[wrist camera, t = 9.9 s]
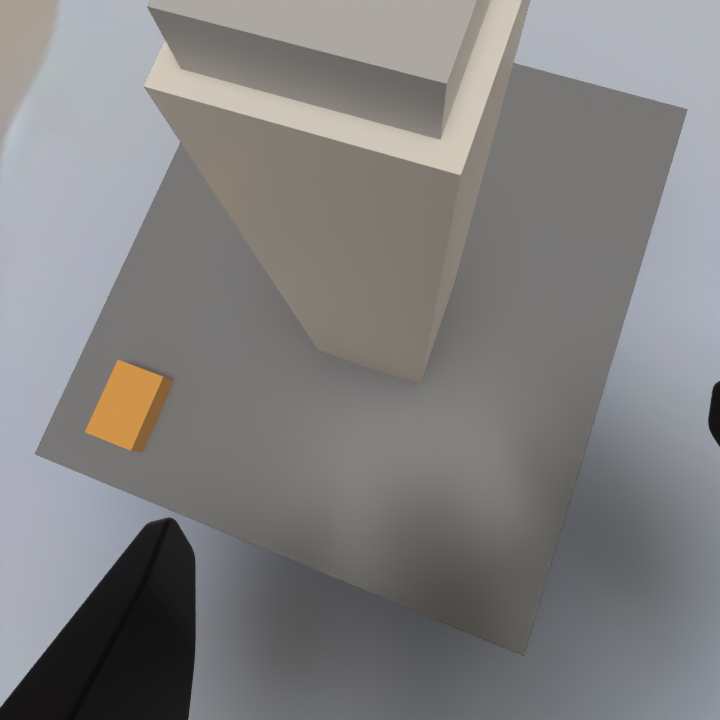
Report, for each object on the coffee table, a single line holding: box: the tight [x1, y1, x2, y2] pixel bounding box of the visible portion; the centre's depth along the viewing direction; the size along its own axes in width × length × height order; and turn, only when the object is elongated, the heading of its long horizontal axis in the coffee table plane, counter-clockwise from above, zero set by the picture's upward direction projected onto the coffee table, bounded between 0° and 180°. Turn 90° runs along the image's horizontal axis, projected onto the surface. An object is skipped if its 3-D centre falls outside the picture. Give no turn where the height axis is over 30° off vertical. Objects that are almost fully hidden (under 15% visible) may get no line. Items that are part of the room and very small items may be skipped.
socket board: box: [35, 63, 687, 656], centre depth 20 cm, size 18×16×4 cm
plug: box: [144, 0, 530, 385], centre depth 12 cm, size 3×3×13 cm
